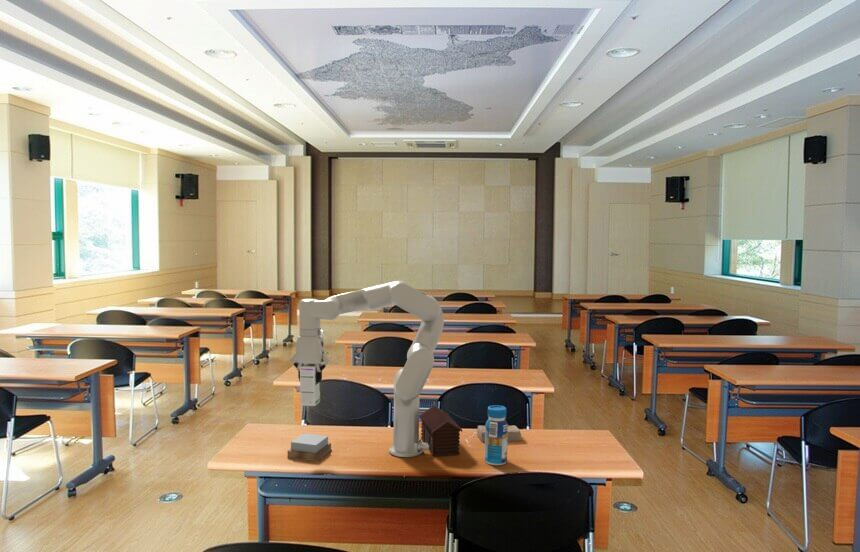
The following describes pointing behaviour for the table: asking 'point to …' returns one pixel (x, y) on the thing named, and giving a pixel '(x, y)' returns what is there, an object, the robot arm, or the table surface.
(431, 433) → the model building
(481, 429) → the brick
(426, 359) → the robot arm
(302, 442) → the tower top
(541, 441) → the table surface
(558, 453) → the table surface
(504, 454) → the beverage bottle
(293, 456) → the tower base
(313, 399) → the syrup box
